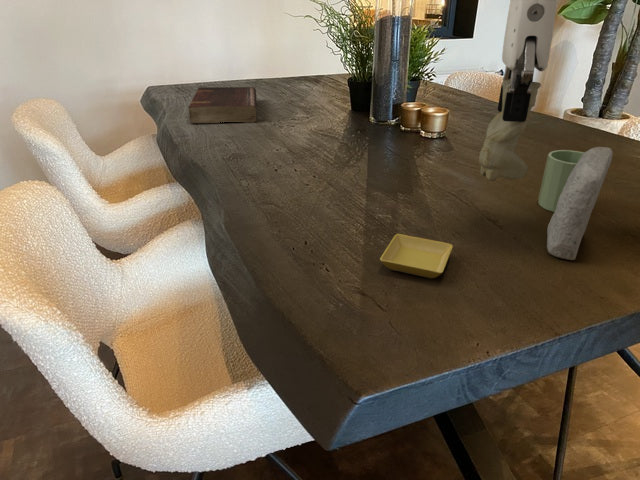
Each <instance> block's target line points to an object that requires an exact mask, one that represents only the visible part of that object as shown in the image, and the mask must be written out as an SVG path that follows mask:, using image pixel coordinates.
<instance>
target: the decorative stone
mask: <svg viewBox="0 0 640 480" xmlns="http://www.w3.org/2000/svg"><path fill="white" fill-rule="evenodd" d="M613 153H614V152H613V149H611V148H610V147H608V146H595V147H591V148H590V149H588V150H586V151H585V152H584V153H583V154H582V156H581V157H580V159H579V161H578V162H577V164H576V165H575V167H574V168H573V170H572V172H571V174H570V175H569V177H568V179H567V182H566V184H565V186H564V188H563V191H562V193H561V195H560V197H559V200H558V203H557V208H556V211H555V212H553V214H552V216H551V218H550V221H549V223H548V226H547V230H546V235H547V238H546V239H547V240H546V249H547V252H548V254H550V255H552V256H554V257H556V258H559V259H563V260H567V261H575V260H576V259H577V258H576V257H577V255H578V253H579V252H578V251H579V248H580V245H581V242H582V239H583V236H584V235H585V233H586V230H587V228H588V224H589V221H590V218H591V216H592V215H591V214H592V212H593V209H594V208H595V205H596V202H597V199H598V197H599V194H600V192H601V189H602V186H603V184H604V182H605V179H606V177H607V174H608V171H609V168H610V166H611V164H612V160H613Z"/></svg>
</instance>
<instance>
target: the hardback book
mask: <svg viewBox="0 0 640 480" xmlns="http://www.w3.org/2000/svg"><path fill="white" fill-rule="evenodd" d="M257 100H258V99H257V89H256V87H255V86H227V87H226V86H224V87H223V86H222V87H221V86H219V87H218V86H212V87H211V86H210V87H209V86H208V87H205V86H203V87H200V86H199V87H198V88H197V90H196V92H195V94H194V95H193V98H192V100H191V101H190V103H189V105H188V113H189V120H190V124H225V123H224V122H245V123H255V122H254V121H256V122H257V119H258V112H257V111H258V108H257V107H258V106H257V104H258V103H257V102H258V101H257ZM220 122H221V123H220ZM222 122H223V123H222Z"/></svg>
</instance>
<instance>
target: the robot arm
mask: <svg viewBox="0 0 640 480" xmlns="http://www.w3.org/2000/svg"><path fill="white" fill-rule="evenodd" d="M557 4H558V0H510V1H509V5H508V6H509V7H508V12H507V18H506V23H505V31H504V36H503V37H504V38H503V43H502V44H503V45H502V53H501V60H502V63H503V64H504V65H505V69H504V72H503V78H502V82H503V81H505V80H508V79H511V81H510V89H509V92H507V93H506V99H505V105H504V111H503V117H502V119H503V120H504V121H512V122H525V121H527V117H528V115H527V113H528V108H529V102H530V97H531V90H532V83H533V82H534V74H535V69H536V70H537V71H539V72H545V70H546V69H547V68H548V64H549V59H550V53H551V46H552V40H553V34H554V28H555V20H556V15H557V14H556V13H557ZM499 91H500V92H499V98H498V104H497V111H498V113H500V112H501V111H502V96H503V86H502V84H501V86H500V90H499Z"/></svg>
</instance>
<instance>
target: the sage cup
mask: <svg viewBox="0 0 640 480" xmlns="http://www.w3.org/2000/svg"><path fill="white" fill-rule="evenodd" d="M583 153H585V152H584V151H578V150H573V149H572V150H571V149H560V150H559V149H558V150H557V149H556V150H552V151H550V152H549V153H548V154H547V158H546V162H545V167H544V170H543V176H542V180H541V186H540V188H539V193H538V200H537V202H538V205H539V206H540V207H541V208H543V209H544V210H547V211H550V212H553V213H555V211H556V208H557V203H558V200H559V197H560V195H561V193H562V191H563V188H564V186H565V184H566V182H567V179H568V177H569V175H570V174H571V172H572V170H573V168H574V167H575V165H576V164H577V162H578V161H579V159H580V157H581V156H582V154H583Z"/></svg>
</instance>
